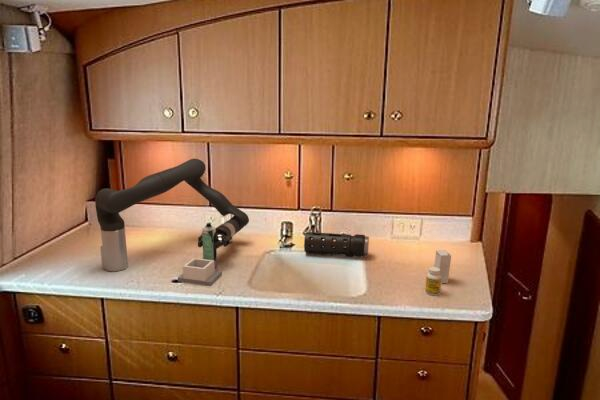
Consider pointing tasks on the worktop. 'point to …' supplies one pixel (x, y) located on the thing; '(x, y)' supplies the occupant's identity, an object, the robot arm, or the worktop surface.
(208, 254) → the spray can
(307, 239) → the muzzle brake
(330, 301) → the worktop surface
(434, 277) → the supplement bottle
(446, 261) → the skincare box
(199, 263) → the socket board
